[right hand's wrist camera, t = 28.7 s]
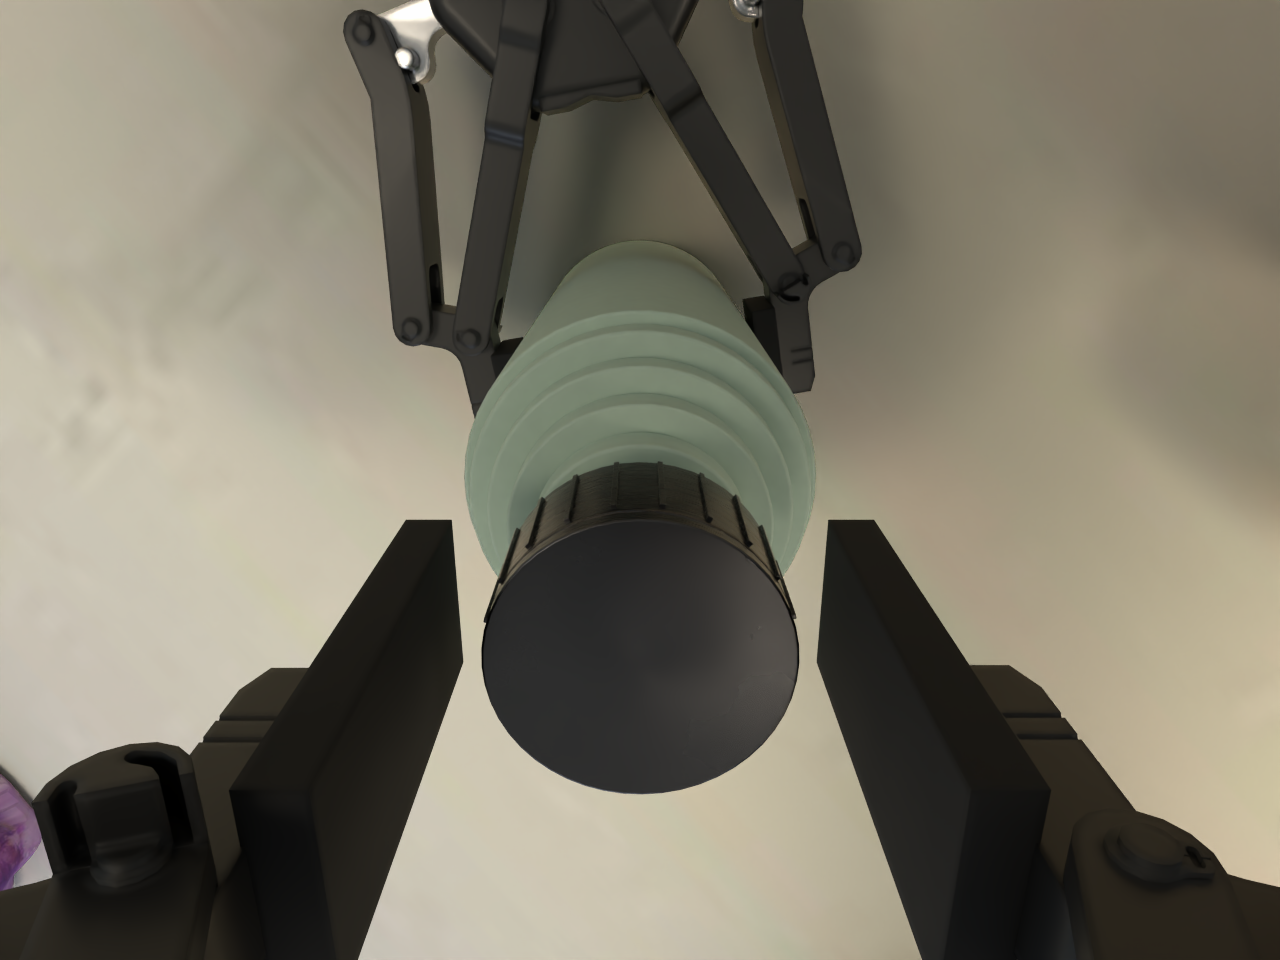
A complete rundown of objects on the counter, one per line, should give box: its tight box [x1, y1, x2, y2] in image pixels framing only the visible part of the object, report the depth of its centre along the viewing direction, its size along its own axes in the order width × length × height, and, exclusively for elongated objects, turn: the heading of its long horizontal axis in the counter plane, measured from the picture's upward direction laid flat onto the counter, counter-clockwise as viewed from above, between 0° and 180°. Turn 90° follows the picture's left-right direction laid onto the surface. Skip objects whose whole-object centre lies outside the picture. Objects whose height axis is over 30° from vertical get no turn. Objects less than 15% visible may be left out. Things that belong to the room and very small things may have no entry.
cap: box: [482, 461, 799, 794], centre depth 14 cm, size 5×5×2 cm
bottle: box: [464, 240, 816, 576], centre depth 25 cm, size 8×8×24 cm
